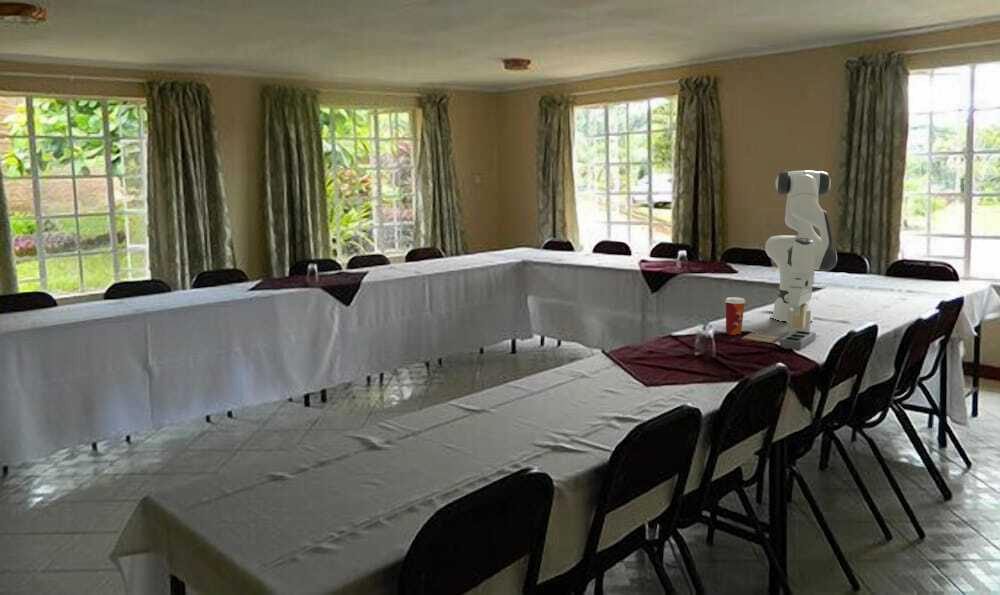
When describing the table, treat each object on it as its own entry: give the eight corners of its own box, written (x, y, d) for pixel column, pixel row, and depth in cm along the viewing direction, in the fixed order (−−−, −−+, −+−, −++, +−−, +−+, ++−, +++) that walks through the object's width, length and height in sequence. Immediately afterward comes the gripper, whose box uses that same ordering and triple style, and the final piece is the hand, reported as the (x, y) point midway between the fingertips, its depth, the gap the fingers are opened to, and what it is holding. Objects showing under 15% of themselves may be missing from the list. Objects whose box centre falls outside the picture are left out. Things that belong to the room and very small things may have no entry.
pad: (750, 335, 324) (751, 332, 323) (780, 338, 317) (780, 336, 316) (741, 340, 314) (741, 337, 314) (771, 344, 307) (771, 341, 307)
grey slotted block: (795, 337, 320) (795, 330, 319) (815, 339, 315) (815, 332, 315) (779, 346, 302) (779, 339, 302) (800, 349, 298) (801, 342, 297)
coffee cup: (739, 336, 321) (741, 300, 319) (720, 334, 326) (722, 298, 324) (746, 333, 328) (748, 298, 325) (727, 330, 333) (729, 296, 330)
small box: (805, 332, 329) (807, 308, 328) (809, 335, 324) (811, 310, 322) (786, 332, 330) (787, 307, 328) (789, 335, 325) (791, 310, 323)
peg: (794, 325, 311) (796, 303, 309) (805, 326, 309) (806, 304, 307) (792, 327, 308) (793, 305, 306) (802, 328, 305) (804, 306, 304)
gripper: (800, 276, 315) (798, 309, 317) (786, 282, 299) (784, 317, 301) (817, 277, 311) (814, 311, 314) (803, 283, 295) (800, 319, 297)
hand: (799, 314), depth 307 cm, fingers closed on peg, 4 cm apart
